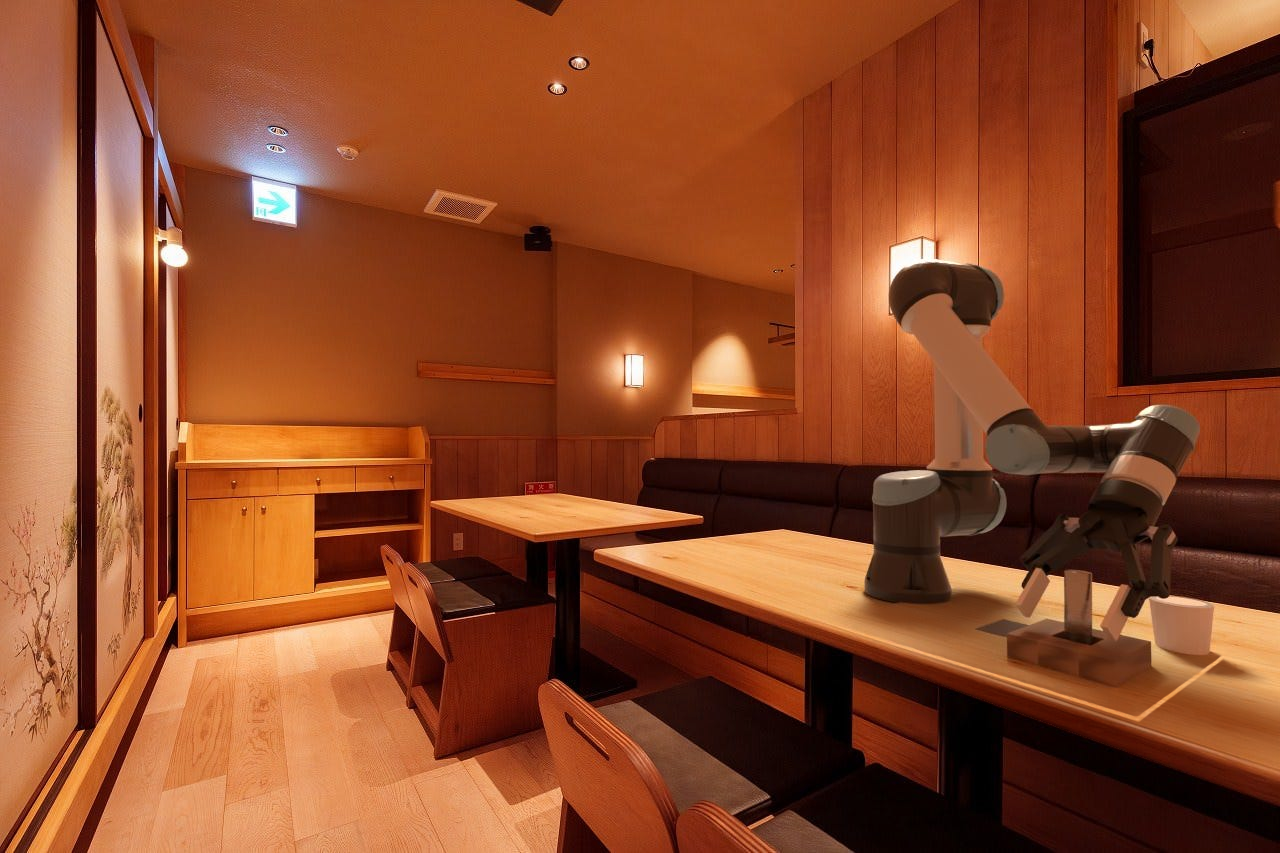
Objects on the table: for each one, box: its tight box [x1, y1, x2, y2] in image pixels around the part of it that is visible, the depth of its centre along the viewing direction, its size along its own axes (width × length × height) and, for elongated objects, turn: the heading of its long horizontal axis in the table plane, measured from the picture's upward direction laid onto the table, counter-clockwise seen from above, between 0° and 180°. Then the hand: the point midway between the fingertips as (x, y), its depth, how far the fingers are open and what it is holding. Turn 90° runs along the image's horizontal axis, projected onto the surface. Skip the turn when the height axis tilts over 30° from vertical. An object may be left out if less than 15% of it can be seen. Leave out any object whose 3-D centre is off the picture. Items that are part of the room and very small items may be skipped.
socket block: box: [1006, 618, 1153, 688], centre depth 79 cm, size 12×12×4 cm
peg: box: [1063, 569, 1093, 646], centre depth 79 cm, size 3×3×12 cm
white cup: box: [1148, 594, 1215, 656], centre depth 84 cm, size 7×7×7 cm
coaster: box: [975, 618, 1029, 638], centre depth 91 cm, size 9×9×1 cm
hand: (1062, 621), depth 78 cm, fingers open, 10 cm apart
